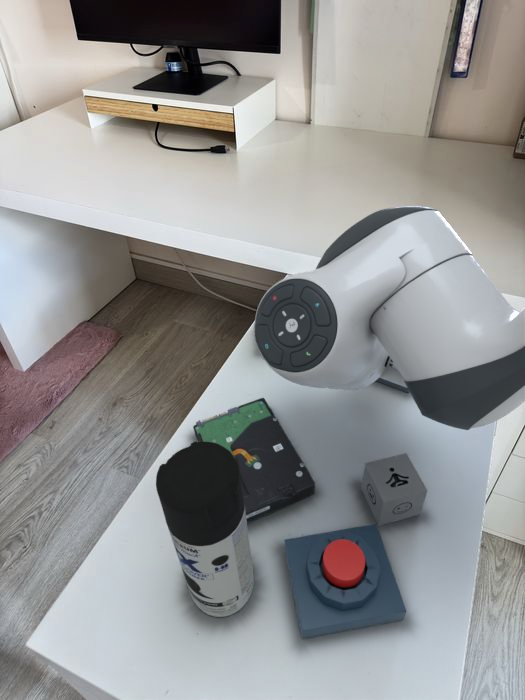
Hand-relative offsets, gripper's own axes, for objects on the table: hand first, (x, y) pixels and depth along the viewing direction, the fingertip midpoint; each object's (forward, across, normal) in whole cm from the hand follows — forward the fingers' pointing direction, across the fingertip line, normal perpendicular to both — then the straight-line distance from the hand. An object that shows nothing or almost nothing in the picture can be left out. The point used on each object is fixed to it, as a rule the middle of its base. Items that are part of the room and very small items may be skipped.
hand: (371, 357), depth 64 cm
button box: (-11, -7, +23) cm, 27 cm away
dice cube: (-3, -8, +15) cm, 18 cm away
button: (-14, -7, +20) cm, 26 cm away
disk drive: (-6, +8, +18) cm, 20 cm away
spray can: (-16, +3, +28) cm, 32 cm away
